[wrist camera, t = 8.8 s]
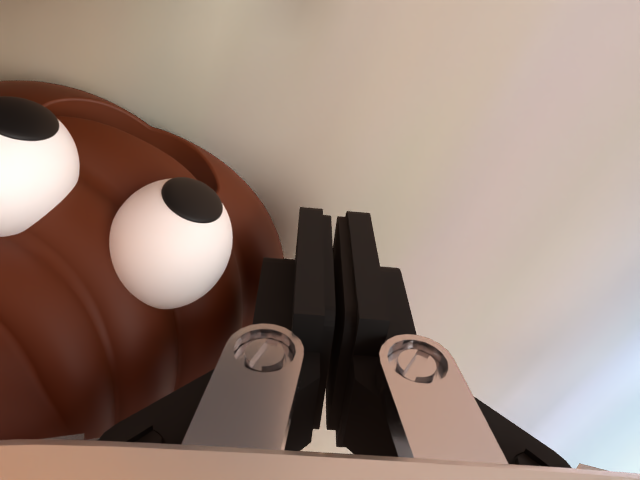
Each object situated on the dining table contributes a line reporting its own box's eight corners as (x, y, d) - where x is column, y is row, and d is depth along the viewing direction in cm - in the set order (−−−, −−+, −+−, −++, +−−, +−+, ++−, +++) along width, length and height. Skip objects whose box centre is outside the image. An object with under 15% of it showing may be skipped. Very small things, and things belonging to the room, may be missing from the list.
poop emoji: (-99, 264, 15) (-581, 654, 7) (-48, -23, 11) (-996, 104, 3) (218, 383, 18) (137, 766, 10) (348, 184, 14) (395, 544, 6)
